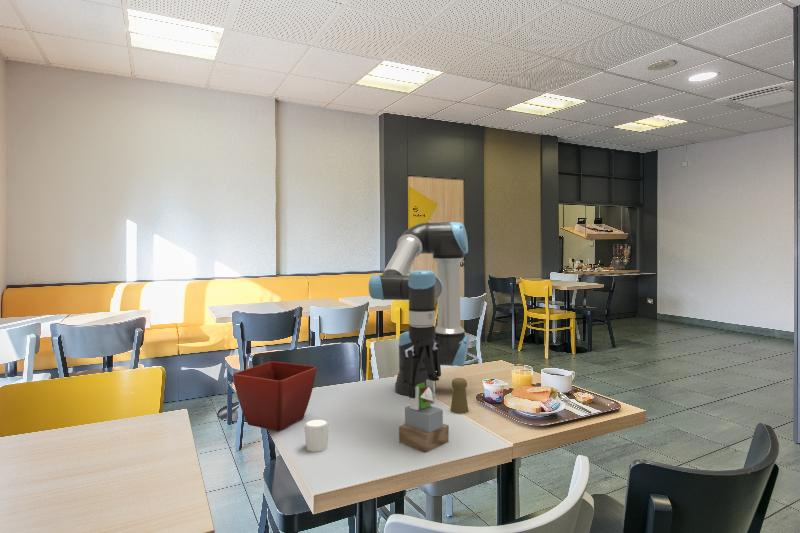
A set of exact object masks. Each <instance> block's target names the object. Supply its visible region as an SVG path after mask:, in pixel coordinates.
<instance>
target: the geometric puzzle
mask: <svg viewBox="0 0 800 533" xmlns="http://www.w3.org/2000/svg"><path fill="white" fill-rule="evenodd" d="M416 386H419V397H418V398H419V405H420V407H421V408H420V407H419V408H420V409H423V408H425V407H428V406H432V402H431V401H433V392H432V391H431V389H432V388H431V389H430V387H429V386H428V387H425V382H423V383H420V384H417V385H416ZM435 393H436V390H435ZM409 401H410V398H409ZM430 402H431V403H430Z"/></svg>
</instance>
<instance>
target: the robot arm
mask: <svg viewBox="0 0 800 533" xmlns="http://www.w3.org/2000/svg"><path fill="white" fill-rule="evenodd" d="M468 242H469V241H468V234H467V230H466V227H465V225H464V224H463V223H462V222H459V221H458V222H456V221H447V222H445V221H443V222H421V223H418V224H416V225H414V226H411V227H410V228H408V229H407V230H405V231H404V232H403V233H402V234H401V235H400V236H399V238H398V240H397V241H396V249H395V250H394V253H393V254H392V256H391V258H390V260H389V262H388V263H387V265H386V267H385V268H384V271H383V272H382V273H381V274H376V275H372V276H371V277H369V281H368V294H369V296H370V298H371V299H374V300H382V301H385V300H387V301H390V300H391V301H392V300H393V301H394V300H395V301H408V324H409V326H408V330H407V331H403V332H402V333H400V335H399V336H398V339H399V340H398V368H399V369H398V373H397V376H396V381H395V383H394V391H395V393H397V394H400V395H403V396H408V398H409V399H410V400H409V406H410V408H411V409H415V410H419V398H418V397H419V386H416V385H417V384H420V383H423V382H425V387H428V386H429V387H430V389H431V388H432V389H431V391H432V392H433V401H431V402H432V403H431V402H430V404H431V405H432V404H433V405H435V404H436V392H435V391H436V390H437V382H439V380H440V378H441V376H442V370H441V366H447V367H448V366H451V367H458V366H460V367H462V366H464V365H465V363H466V361H467V356H468V350H469V344H470V343H469V340H470V336H469V335H467V334H466V333H465V329H464V328H463V327H462V326H461V262H462V261H464V259H465V255H466V254H468V253H469V243H468ZM421 254H430V255H431V254H432V260H433V261H434V262H436V273H435V272H434V271H433V270H426V269H425V270H421V269H419V270H411V269H412V266H413V264H414V262H415V260H416V258H417V257H419V256H420V255H421ZM436 299H437V326H435V324H436Z"/></svg>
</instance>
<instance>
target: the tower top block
mask: <svg viewBox="0 0 800 533" xmlns="http://www.w3.org/2000/svg"><path fill="white" fill-rule="evenodd" d="M419 407H420V405H419ZM420 408H421V407H420ZM420 408H419V410H415V409H411V408H410V405H409V406H405V407H404V424H405V425H407V426H410V427H413V428H416V429H419V430H421V431H424V432H427V433H430V432H433V431H435V430H437V429H440V428H442V427H443V424H444V420H443V419H444V418H443V417H444V412H443V411H444V410H443V409H441V408H438V407H435V406H433V405H431V406H428V407H425V408H423V409H420Z"/></svg>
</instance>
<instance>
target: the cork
mask: <svg viewBox="0 0 800 533" xmlns="http://www.w3.org/2000/svg"><path fill="white" fill-rule="evenodd" d="M451 386H452V389H453V390H452V398H451V403H450V404H451V405H450V412H451V413H453V414H458V415H460V414H461V413H464V414H466V412H467V413H469V406H468V398H467V390H466V388H468V382H467V380H466V379H465V378H464V377H463V378H462V377H456V378H455V377H454V378H453V379H452V380H451ZM461 415H462V414H461Z"/></svg>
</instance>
